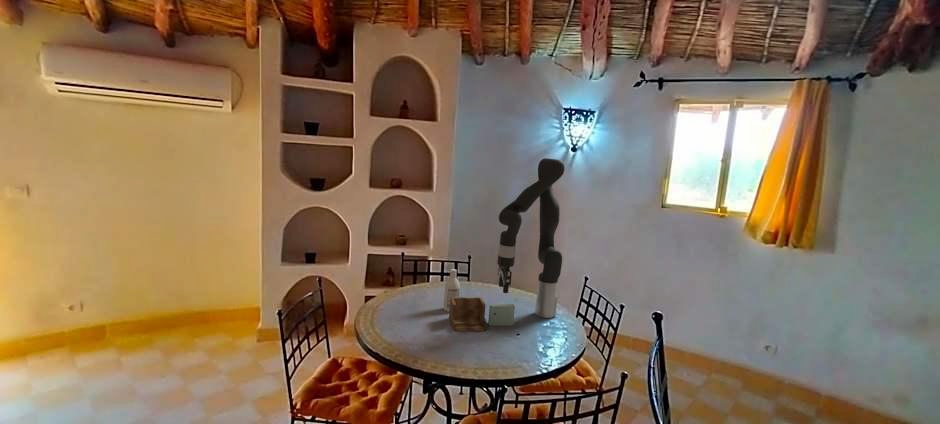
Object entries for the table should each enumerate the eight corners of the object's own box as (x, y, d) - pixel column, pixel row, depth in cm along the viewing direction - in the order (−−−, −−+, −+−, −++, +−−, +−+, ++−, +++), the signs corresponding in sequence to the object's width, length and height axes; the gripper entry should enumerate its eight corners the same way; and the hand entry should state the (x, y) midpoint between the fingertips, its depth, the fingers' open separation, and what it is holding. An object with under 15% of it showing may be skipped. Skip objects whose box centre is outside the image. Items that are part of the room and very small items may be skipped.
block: (511, 323, 231) (513, 304, 230) (513, 325, 228) (515, 306, 227) (488, 323, 229) (489, 304, 228) (489, 325, 226) (491, 306, 225)
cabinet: (479, 317, 234) (481, 297, 232) (486, 330, 220) (488, 309, 219) (448, 318, 231) (450, 297, 230) (453, 330, 218) (455, 309, 216)
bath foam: (460, 310, 241) (463, 270, 238) (449, 313, 237) (452, 272, 233) (452, 306, 246) (455, 266, 243) (440, 308, 242) (443, 268, 238)
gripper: (518, 259, 217) (515, 295, 220) (510, 250, 231) (507, 284, 234) (502, 258, 216) (498, 295, 219) (494, 250, 230) (491, 284, 232)
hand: (503, 289), depth 226 cm, fingers open, 8 cm apart
